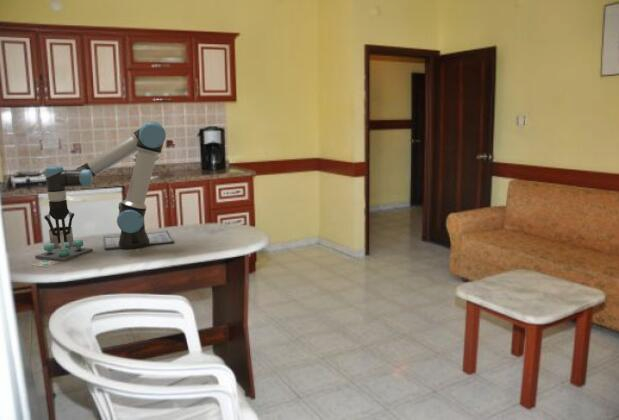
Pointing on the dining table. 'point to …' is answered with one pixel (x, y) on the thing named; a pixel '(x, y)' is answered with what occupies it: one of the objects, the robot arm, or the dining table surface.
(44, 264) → the card
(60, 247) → the button
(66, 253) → the button
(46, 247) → the button
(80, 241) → the button
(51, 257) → the board
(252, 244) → the dining table surface
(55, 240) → the planter
